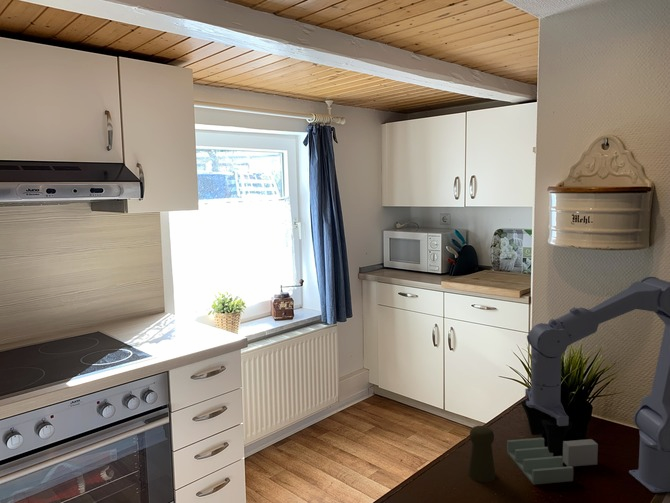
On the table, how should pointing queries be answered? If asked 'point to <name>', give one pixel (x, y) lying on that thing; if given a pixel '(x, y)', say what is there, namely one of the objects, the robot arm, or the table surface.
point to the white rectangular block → (580, 452)
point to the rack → (538, 461)
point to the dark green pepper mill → (481, 455)
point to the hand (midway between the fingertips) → (545, 442)
